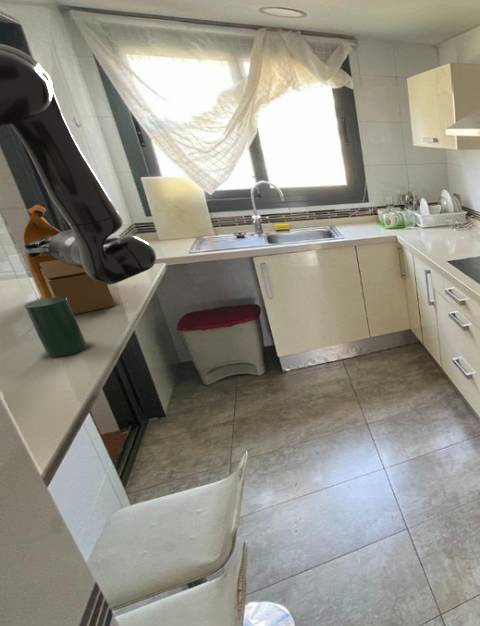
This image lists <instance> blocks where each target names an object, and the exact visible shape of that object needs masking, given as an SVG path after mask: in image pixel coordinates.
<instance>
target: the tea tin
mask: <svg viewBox="0 0 480 626" xmlns="http://www.w3.org/2000/svg"><path fill="white" fill-rule="evenodd" d="M24 308H25V310H26V313H27V315H28V317H29V319H30V321H31V323H32V325H33V327H34V330H35V332H36V333H37V336H38V338H39V340H40V342H41V344H42V346H43V349H44V351H45V353H46V355H47V356H48V357H49V358H60V357H66V356H69V355H74V354H76V353H79V352H82V351H84V350H86V349H87V348H88V345H87V342H86V339H85V337H84V335H83V332H82V330H81V328H80V326H79V323H78V321H77V319H76V316H75V314H73V312H72V309H71V307H70V305H69V302H68V300H67V298H66V297H52V298H45V299H44V298H42V299H36V300H33V301H30V302H27V303H25V304H24Z"/></svg>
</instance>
